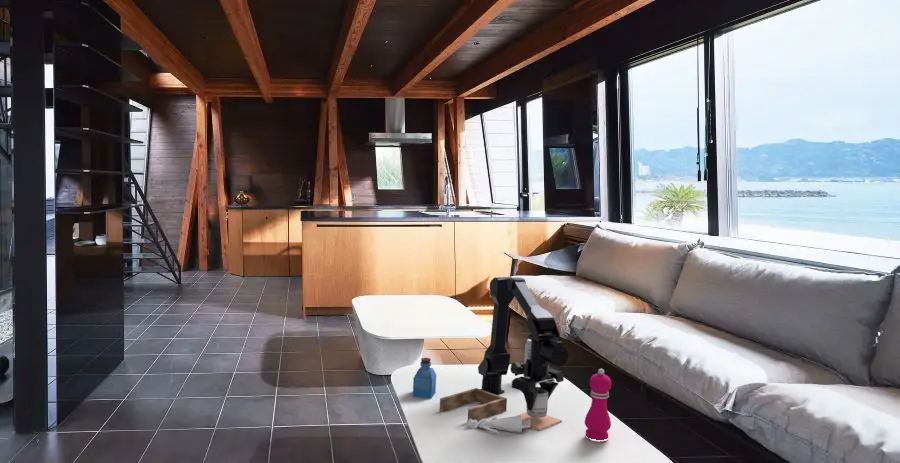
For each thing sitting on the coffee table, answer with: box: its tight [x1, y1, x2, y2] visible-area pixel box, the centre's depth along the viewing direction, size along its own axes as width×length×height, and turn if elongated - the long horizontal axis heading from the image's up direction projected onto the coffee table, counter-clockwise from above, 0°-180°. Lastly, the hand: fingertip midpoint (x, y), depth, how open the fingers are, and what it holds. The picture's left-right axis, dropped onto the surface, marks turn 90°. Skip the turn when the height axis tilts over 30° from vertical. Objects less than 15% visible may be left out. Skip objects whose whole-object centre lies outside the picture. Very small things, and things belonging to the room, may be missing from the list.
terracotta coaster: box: [516, 411, 563, 432], centre depth 195 cm, size 11×11×1 cm
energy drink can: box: [522, 338, 531, 379], centre depth 234 cm, size 6×6×15 cm
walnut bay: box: [439, 387, 508, 423], centre depth 200 cm, size 17×13×4 cm
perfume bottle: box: [412, 357, 437, 400], centre depth 213 cm, size 6×6×12 cm
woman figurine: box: [467, 414, 531, 434], centre depth 187 cm, size 12×4×18 cm
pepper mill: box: [584, 368, 612, 440], centre depth 183 cm, size 7×7×20 cm
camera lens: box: [526, 386, 549, 418], centre depth 194 cm, size 6×6×8 cm
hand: (536, 407), depth 195 cm, fingers closed on camera lens, 6 cm apart
